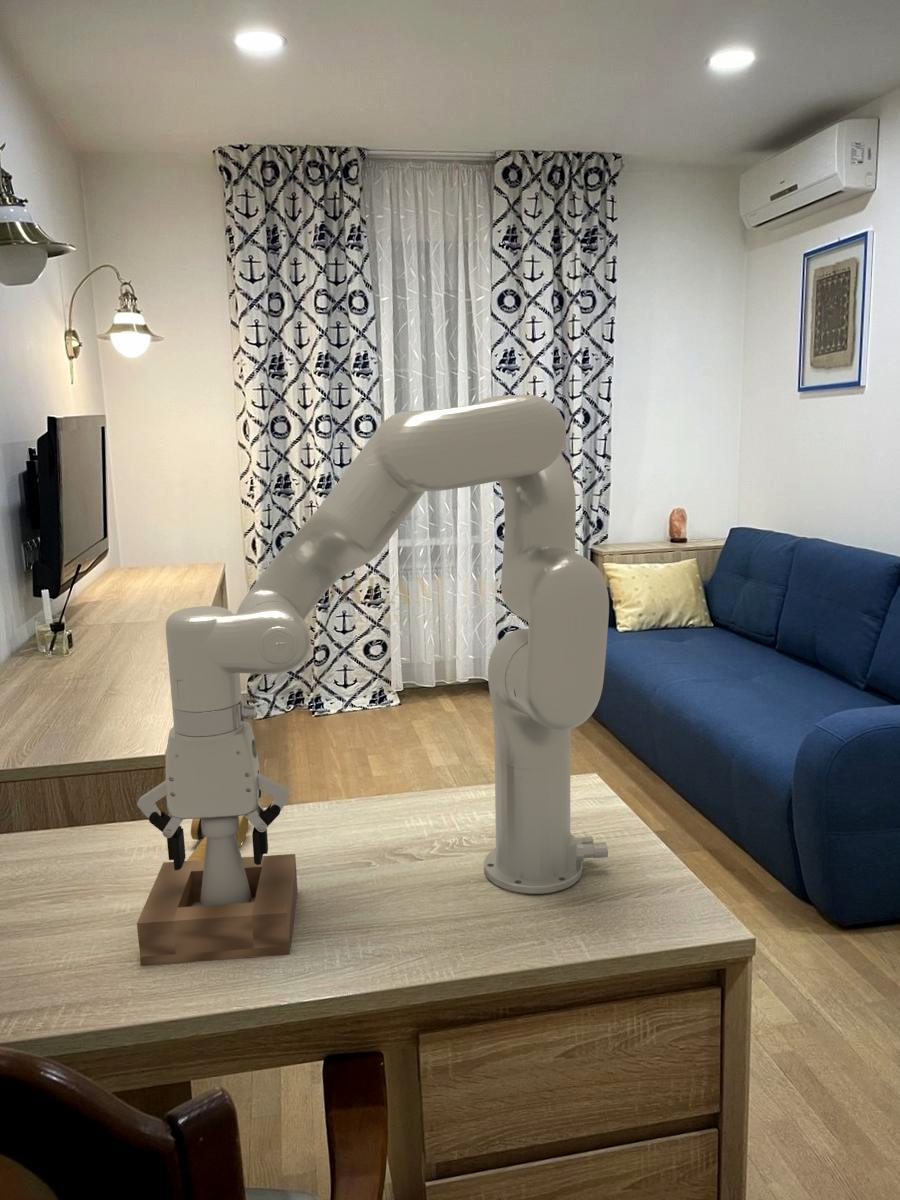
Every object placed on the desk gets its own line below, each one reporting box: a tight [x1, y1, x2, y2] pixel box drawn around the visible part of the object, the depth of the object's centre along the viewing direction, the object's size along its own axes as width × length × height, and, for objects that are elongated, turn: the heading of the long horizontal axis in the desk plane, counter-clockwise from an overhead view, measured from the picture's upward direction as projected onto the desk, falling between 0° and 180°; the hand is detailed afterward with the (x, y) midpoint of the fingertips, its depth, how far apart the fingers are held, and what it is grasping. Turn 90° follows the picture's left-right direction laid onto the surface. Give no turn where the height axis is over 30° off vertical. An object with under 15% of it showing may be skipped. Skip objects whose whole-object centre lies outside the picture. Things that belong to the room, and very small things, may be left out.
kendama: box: [186, 815, 249, 861], centre depth 128 cm, size 8×6×18 cm
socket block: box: [136, 853, 298, 966], centre depth 109 cm, size 16×14×5 cm
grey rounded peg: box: [200, 816, 251, 906], centre depth 108 cm, size 6×6×13 cm
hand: (219, 861), depth 108 cm, fingers open, 8 cm apart
